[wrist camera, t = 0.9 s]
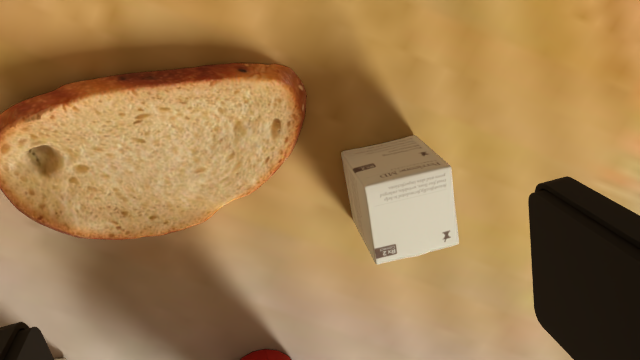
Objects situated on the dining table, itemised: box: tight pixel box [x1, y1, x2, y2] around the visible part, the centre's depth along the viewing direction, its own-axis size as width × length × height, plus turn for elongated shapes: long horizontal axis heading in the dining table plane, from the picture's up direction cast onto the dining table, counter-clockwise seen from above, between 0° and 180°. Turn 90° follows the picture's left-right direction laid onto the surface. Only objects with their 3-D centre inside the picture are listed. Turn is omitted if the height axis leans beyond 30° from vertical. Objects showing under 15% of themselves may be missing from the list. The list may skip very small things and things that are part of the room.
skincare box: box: [341, 135, 459, 264], centre depth 40 cm, size 6×6×7 cm
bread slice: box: [0, 63, 307, 240], centre depth 38 cm, size 18×18×4 cm
